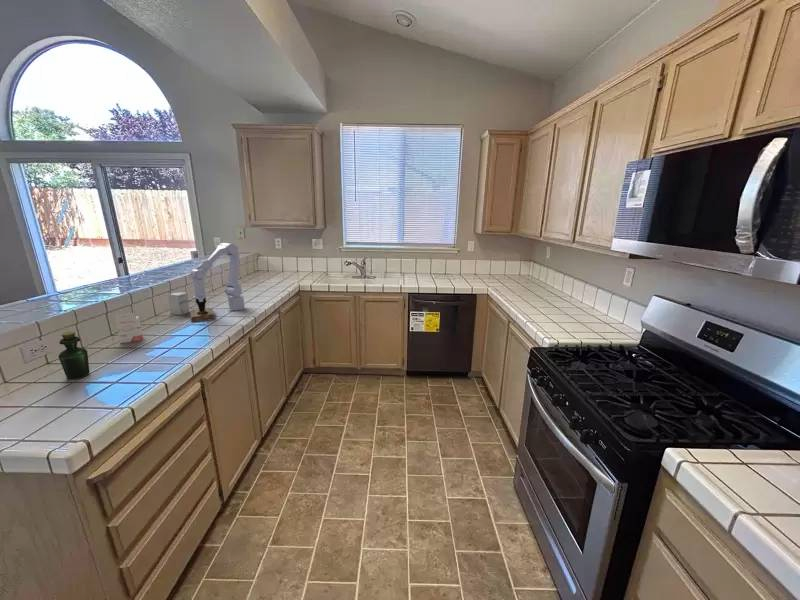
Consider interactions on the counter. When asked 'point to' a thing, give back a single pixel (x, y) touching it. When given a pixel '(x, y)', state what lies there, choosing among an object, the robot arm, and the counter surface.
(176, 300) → the supplement box
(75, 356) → the potion bottle
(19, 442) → the counter surface
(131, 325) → the ink cartridge box
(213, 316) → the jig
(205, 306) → the brass cylinder
